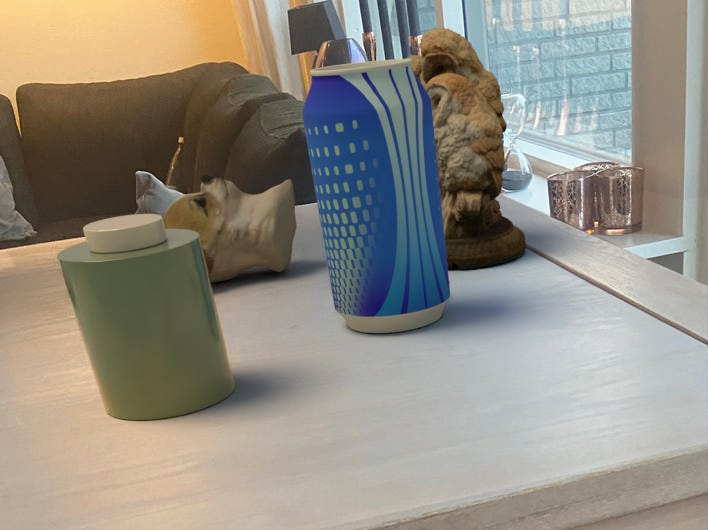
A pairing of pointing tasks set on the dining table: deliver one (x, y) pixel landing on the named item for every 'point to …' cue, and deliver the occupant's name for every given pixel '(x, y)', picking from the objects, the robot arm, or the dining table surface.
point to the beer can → (378, 194)
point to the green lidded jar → (147, 317)
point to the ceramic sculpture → (238, 226)
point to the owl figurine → (467, 150)
